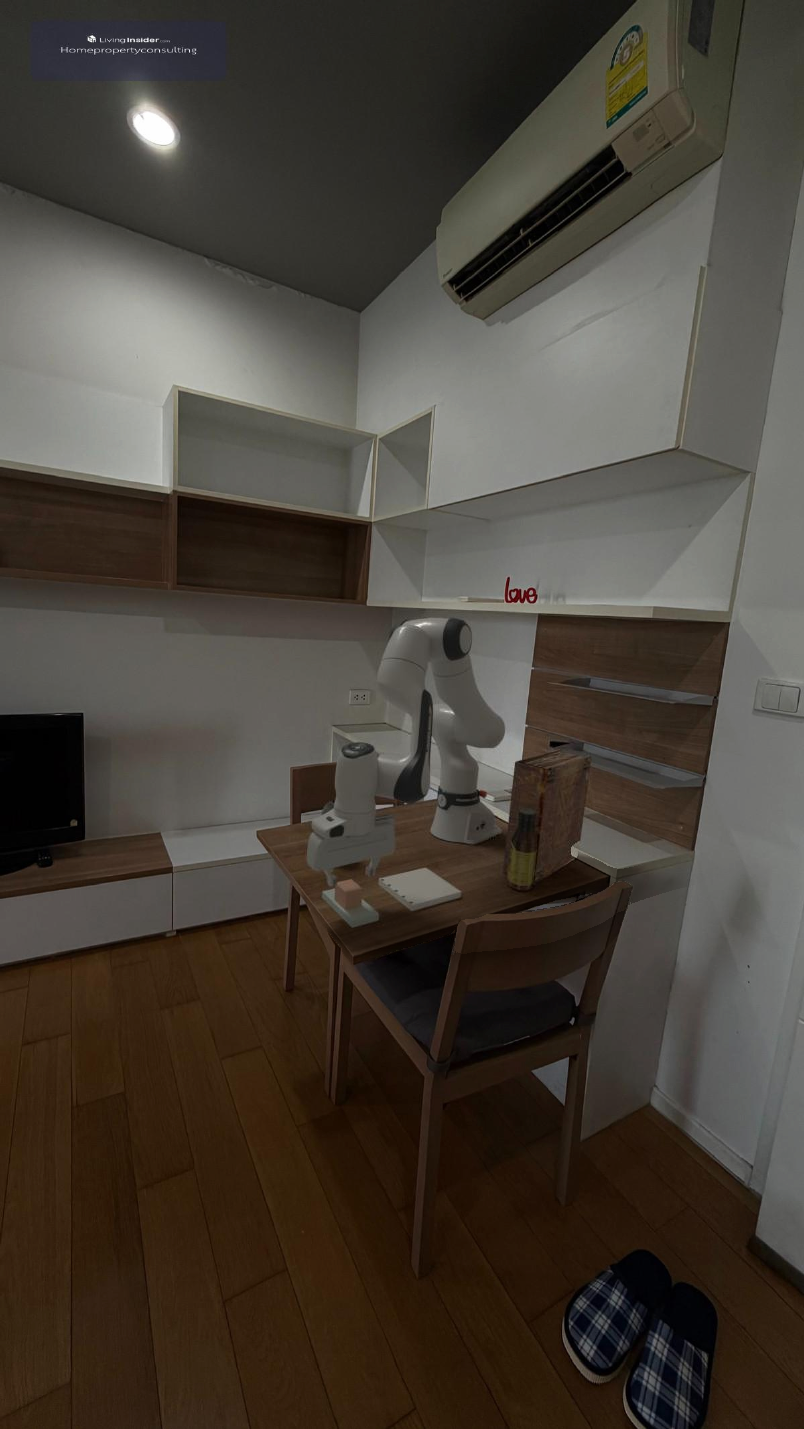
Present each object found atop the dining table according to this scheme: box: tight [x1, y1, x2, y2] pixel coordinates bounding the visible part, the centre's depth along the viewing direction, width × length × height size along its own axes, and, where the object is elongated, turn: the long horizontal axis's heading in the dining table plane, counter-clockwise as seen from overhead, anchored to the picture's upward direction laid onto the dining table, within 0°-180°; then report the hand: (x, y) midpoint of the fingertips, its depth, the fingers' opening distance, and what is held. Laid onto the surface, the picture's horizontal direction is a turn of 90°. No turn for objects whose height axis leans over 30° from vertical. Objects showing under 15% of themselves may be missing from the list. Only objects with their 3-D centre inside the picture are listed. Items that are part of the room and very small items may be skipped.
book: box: [502, 748, 592, 886], centre depth 153 cm, size 25×9×30 cm, turn 138°
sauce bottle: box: [507, 808, 537, 892], centre depth 140 cm, size 7×6×20 cm
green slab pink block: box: [321, 878, 380, 929], centre depth 125 cm, size 6×14×6 cm, turn 34°
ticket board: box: [378, 867, 462, 912], centre depth 136 cm, size 14×14×2 cm
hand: (351, 879), depth 124 cm, fingers open, 8 cm apart
